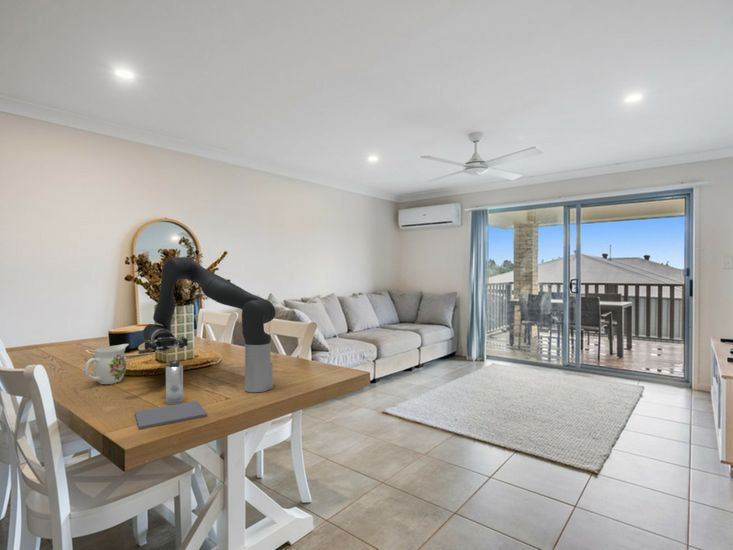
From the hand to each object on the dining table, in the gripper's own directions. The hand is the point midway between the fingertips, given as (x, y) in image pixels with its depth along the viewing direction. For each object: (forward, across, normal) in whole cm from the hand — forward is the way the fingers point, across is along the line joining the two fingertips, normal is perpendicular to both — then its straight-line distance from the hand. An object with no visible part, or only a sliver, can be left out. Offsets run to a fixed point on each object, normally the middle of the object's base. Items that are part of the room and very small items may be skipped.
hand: (168, 346), depth 143 cm
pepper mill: (+11, 0, +17) cm, 20 cm away
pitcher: (-27, -18, +18) cm, 36 cm away
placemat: (+24, -3, +16) cm, 30 cm away
